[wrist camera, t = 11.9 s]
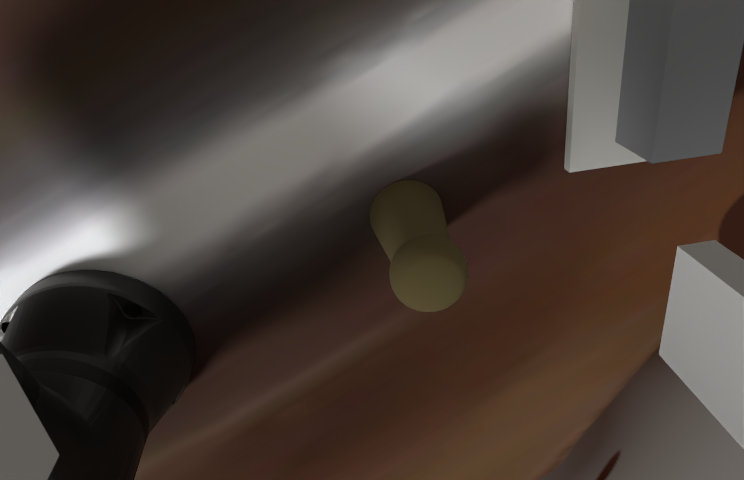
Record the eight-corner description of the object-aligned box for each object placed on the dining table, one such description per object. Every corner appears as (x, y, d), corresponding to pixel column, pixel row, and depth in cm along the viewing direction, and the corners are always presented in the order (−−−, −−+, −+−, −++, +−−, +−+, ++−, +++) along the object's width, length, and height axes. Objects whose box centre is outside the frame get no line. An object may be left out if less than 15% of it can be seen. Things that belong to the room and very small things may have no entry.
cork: (358, 194, 42) (373, 264, 33) (431, 168, 42) (468, 232, 32) (382, 256, 45) (402, 338, 36) (450, 233, 45) (490, 309, 35)
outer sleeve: (677, 132, 42) (721, 153, 37) (615, 141, 42) (651, 163, 37) (705, -42, 36) (760, -42, 32) (632, -32, 36) (678, -30, 32)
